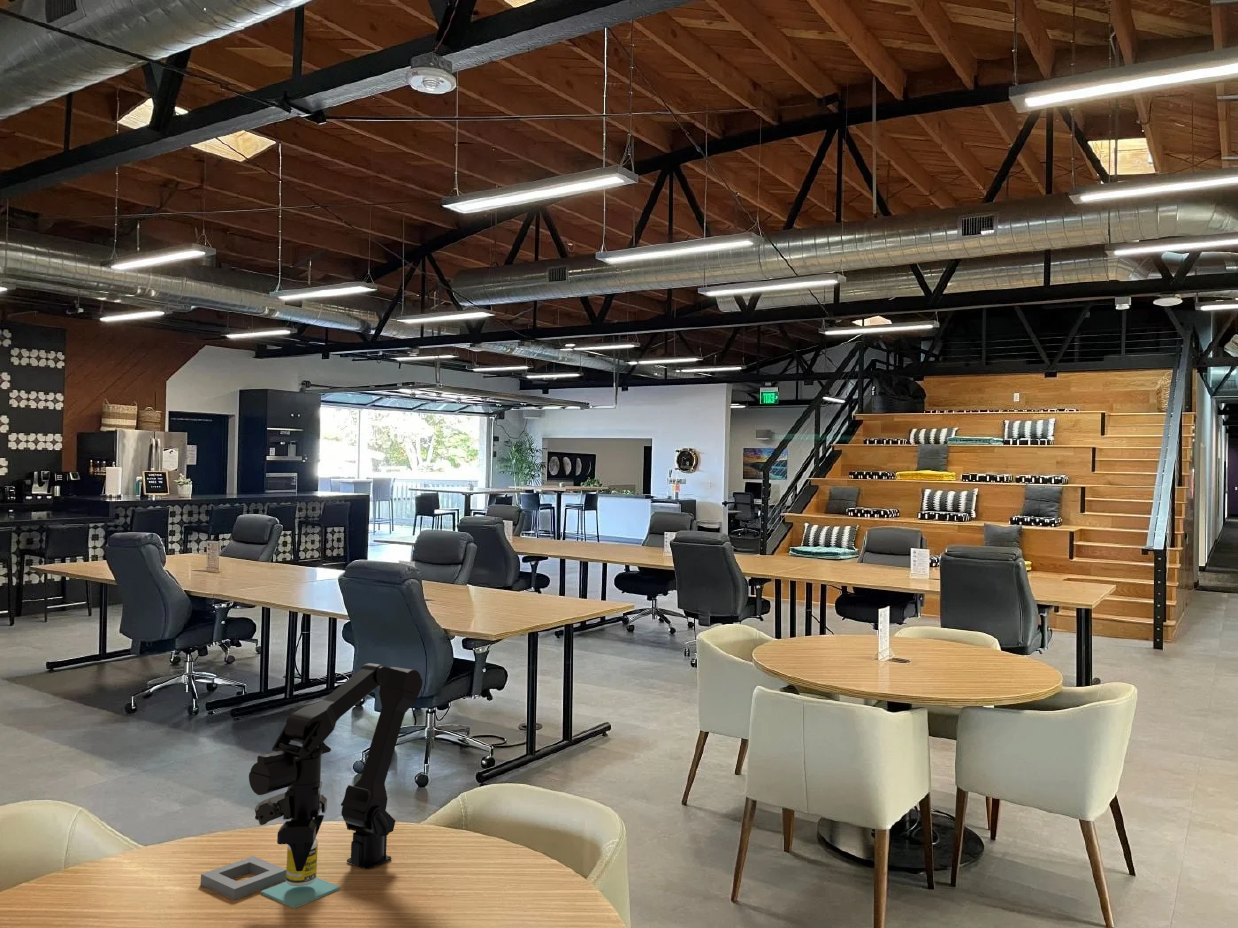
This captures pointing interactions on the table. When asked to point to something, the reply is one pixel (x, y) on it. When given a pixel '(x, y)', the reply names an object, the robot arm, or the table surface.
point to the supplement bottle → (308, 871)
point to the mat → (300, 892)
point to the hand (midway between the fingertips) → (302, 864)
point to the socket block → (232, 889)
